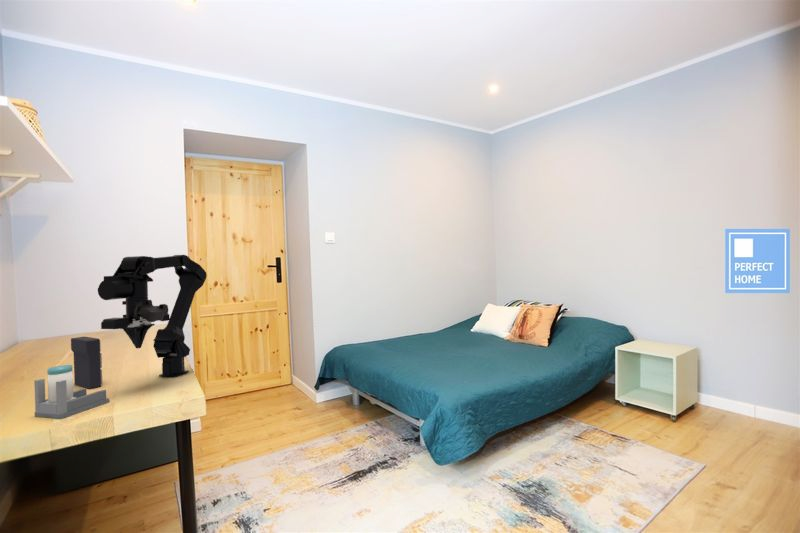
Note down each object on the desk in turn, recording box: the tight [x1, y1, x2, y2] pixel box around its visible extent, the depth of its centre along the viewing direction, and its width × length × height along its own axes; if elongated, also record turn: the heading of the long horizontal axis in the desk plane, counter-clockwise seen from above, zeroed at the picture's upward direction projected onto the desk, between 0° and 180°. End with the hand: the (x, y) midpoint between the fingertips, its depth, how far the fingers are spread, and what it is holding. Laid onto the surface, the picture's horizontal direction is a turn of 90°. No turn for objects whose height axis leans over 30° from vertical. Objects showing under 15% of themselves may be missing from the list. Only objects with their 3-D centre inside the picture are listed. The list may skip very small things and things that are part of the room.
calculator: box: [70, 336, 103, 390], centre depth 124 cm, size 11×4×15 cm, turn 59°
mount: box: [33, 378, 110, 420], centre depth 103 cm, size 12×9×9 cm
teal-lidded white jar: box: [46, 364, 76, 403], centre depth 100 cm, size 5×5×10 cm
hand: (138, 348), depth 120 cm, fingers closed
